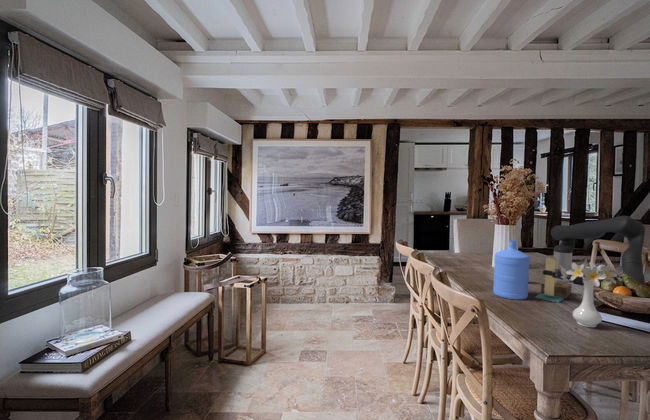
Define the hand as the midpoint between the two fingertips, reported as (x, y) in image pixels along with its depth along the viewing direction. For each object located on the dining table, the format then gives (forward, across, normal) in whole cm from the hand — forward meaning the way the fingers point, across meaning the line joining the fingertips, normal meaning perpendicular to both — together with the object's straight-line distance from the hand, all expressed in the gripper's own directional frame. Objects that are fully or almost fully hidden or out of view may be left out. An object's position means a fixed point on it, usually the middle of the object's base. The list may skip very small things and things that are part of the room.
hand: (544, 271), depth 173 cm
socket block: (-3, -12, +13) cm, 18 cm away
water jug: (+12, +10, +13) cm, 21 cm away
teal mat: (-3, 0, +13) cm, 13 cm away
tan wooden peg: (-3, 0, +11) cm, 11 cm away
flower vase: (-22, +30, +13) cm, 39 cm away
